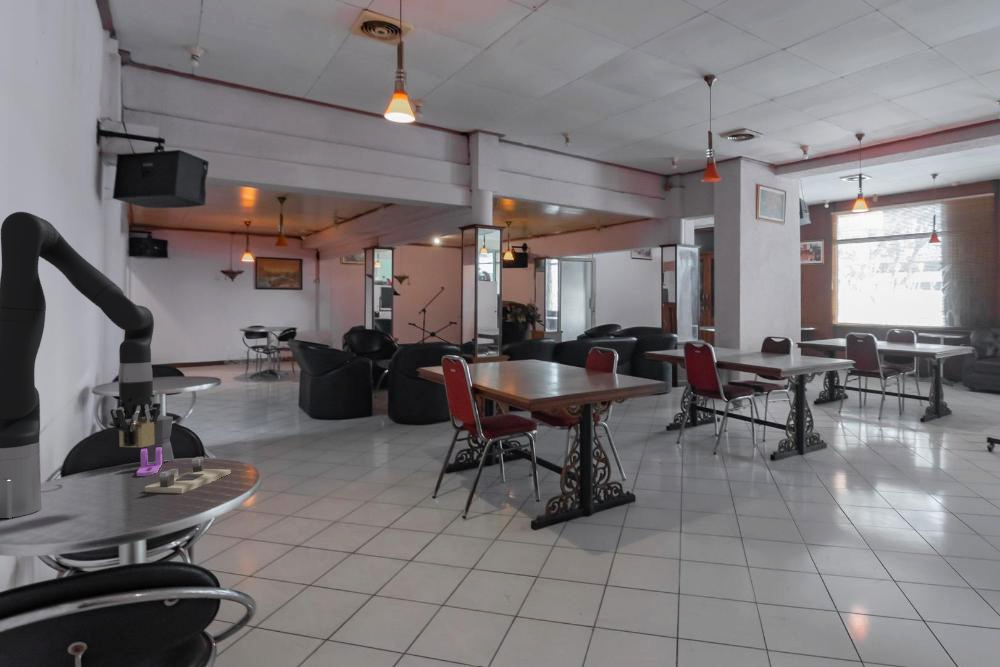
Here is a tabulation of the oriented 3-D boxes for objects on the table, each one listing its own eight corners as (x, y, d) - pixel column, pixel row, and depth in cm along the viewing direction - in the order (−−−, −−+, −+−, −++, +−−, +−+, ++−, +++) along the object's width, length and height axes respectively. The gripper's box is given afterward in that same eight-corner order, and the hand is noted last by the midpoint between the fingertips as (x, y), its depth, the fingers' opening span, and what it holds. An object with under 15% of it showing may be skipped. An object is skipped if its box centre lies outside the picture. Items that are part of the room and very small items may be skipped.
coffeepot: (155, 457, 198) (154, 408, 197) (182, 456, 198) (181, 407, 198) (129, 468, 182) (128, 414, 182) (159, 467, 183) (157, 413, 183)
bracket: (143, 468, 182) (142, 447, 182) (162, 466, 184) (161, 446, 184) (135, 478, 170) (134, 455, 170) (156, 475, 172) (155, 453, 172)
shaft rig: (181, 493, 151) (181, 473, 151) (144, 492, 154) (144, 472, 154) (230, 474, 171) (230, 456, 171) (197, 473, 173) (196, 456, 173)
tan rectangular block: (154, 444, 147) (154, 421, 147) (141, 447, 143) (141, 424, 143) (132, 443, 149) (132, 421, 148) (119, 447, 144) (118, 424, 144)
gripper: (124, 382, 138) (125, 450, 138) (169, 377, 152) (170, 439, 152) (99, 382, 140) (101, 449, 140) (146, 377, 153) (147, 438, 154)
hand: (137, 443), depth 146 cm, fingers closed on tan rectangular block, 4 cm apart
